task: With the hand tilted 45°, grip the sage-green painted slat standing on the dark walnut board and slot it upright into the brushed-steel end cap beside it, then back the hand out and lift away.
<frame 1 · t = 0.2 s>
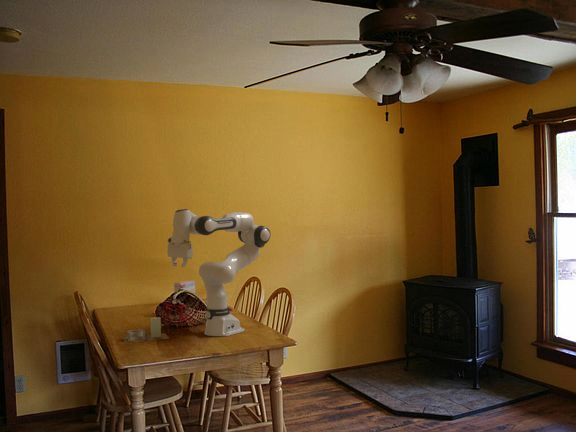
hand: (179, 266, 280), 39 cm above the table, tool pointing down, fingers open, 8 cm apart
slat: (155, 336, 284), point 1 cm above the table, touching end cap board
end cap board: (146, 340, 282), on the table
cracker box: (185, 313, 350), on the table
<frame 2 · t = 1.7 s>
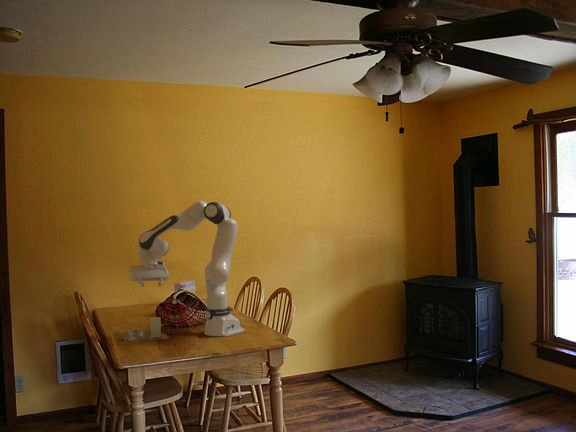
hand: (151, 286, 293), 27 cm above the table, tool tilted 45°, fingers open, 8 cm apart
nothing on the table moved.
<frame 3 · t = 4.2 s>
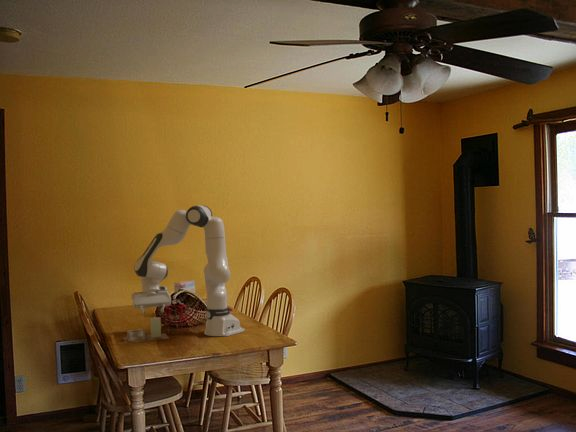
hand: (153, 312, 290), 13 cm above the table, tool tilted 45°, fingers open, 8 cm apart
nothing on the table moved.
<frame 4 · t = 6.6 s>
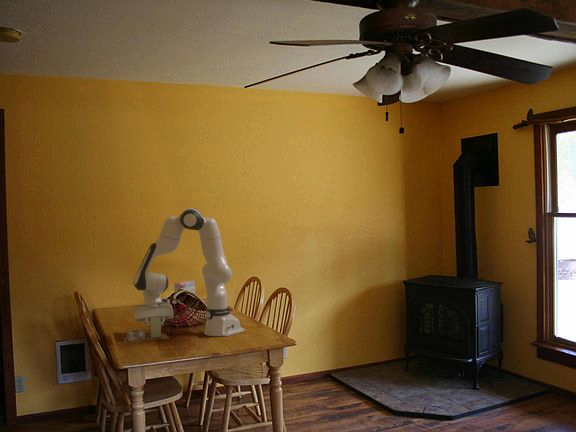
hand: (155, 326, 283), 7 cm above the table, tool tilted 45°, fingers closed on slat, 5 cm apart
slat: (155, 336, 284), point 1 cm above the table, touching end cap board, gripper
everything else where it was.
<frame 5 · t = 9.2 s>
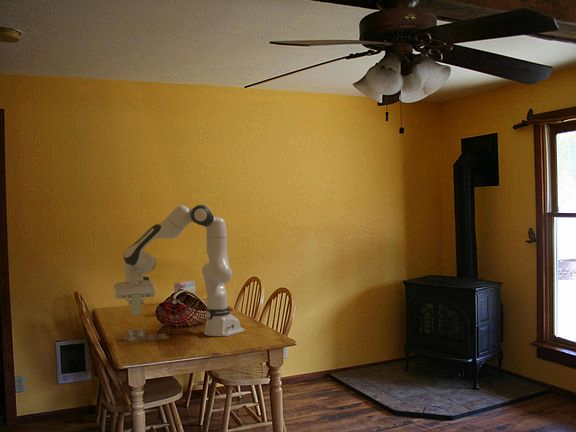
hand: (136, 303, 279), 20 cm above the table, tool tilted 45°, fingers closed on slat, 5 cm apart
slat: (136, 314, 280), point 14 cm above the table, touching gripper
everything else where it was.
when the fingers open (9 cm above the table, at t = 12.1 s): slat drops 2 cm, resting on end cap board.
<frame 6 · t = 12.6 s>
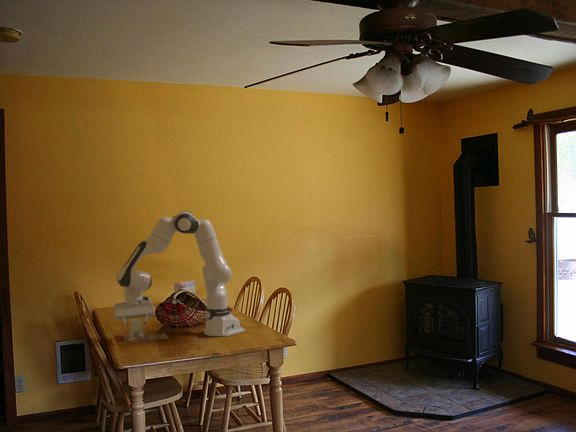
hand: (136, 324, 279), 9 cm above the table, tool tilted 45°, fingers open, 8 cm apart
slat: (136, 338, 280), point 1 cm above the table, touching end cap board
everything else where it was.
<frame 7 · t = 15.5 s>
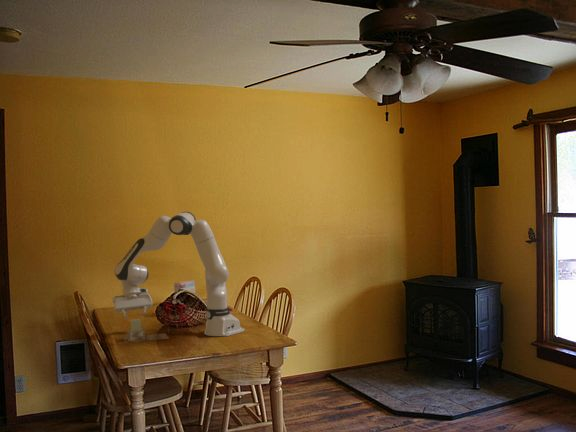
hand: (135, 315, 292), 11 cm above the table, tool tilted 45°, fingers open, 8 cm apart
nothing on the table moved.
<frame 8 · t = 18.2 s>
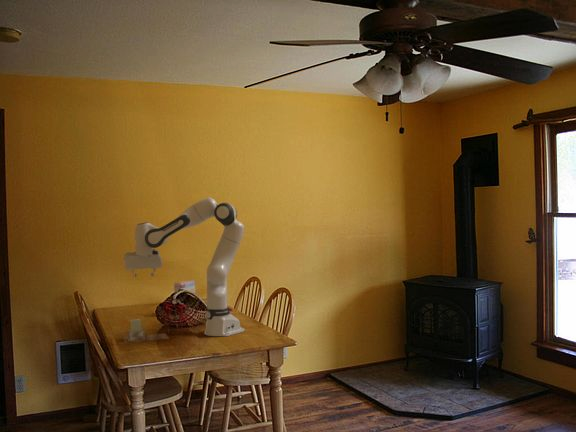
hand: (143, 276, 299), 31 cm above the table, tool pointing down, fingers open, 8 cm apart
nothing on the table moved.
at the end: slat 0.1 cm from the target spot on the end cap board, point 1.5 cm above the end cap board's base; slat tilted 0°; the gripper is holding nothing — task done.
